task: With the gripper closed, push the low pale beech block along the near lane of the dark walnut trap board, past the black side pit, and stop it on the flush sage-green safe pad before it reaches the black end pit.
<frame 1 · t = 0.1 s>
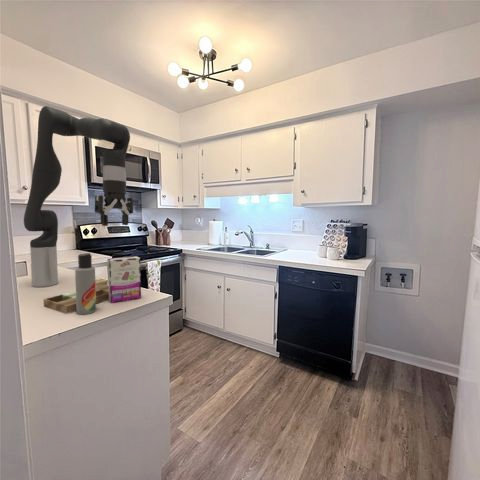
hand: (115, 225, 93), 29 cm above the counter, tool pointing down, fingers open, 8 cm apart
beech block: (98, 287, 105), point 2 cm above the counter, touching trap board
candy bar box: (124, 299, 100), on the counter
trap board: (85, 300, 97), on the counter
lotion bottle: (86, 312, 87), on the counter
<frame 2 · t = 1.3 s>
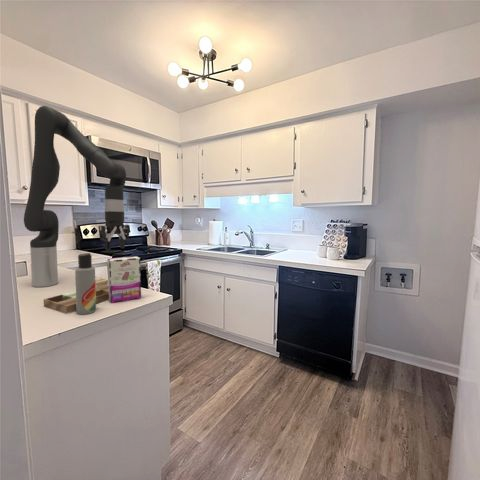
hand: (115, 248, 111), 18 cm above the counter, tool pointing down, fingers open, 6 cm apart
nothing on the counter moved.
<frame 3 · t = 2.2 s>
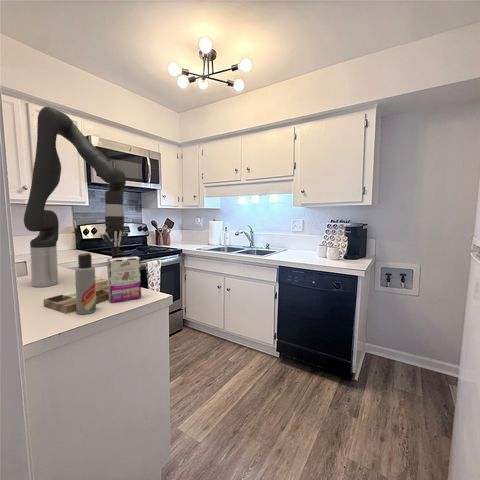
hand: (115, 254, 111), 15 cm above the counter, tool pointing down, fingers closed
nothing on the counter moved.
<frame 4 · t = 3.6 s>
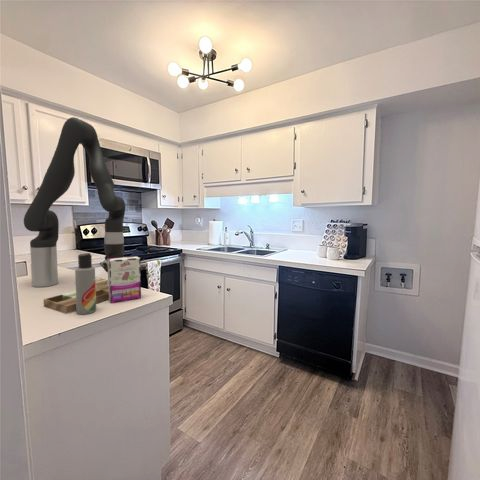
hand: (114, 281, 112), 3 cm above the counter, tool pointing down, fingers closed
nothing on the counter moved.
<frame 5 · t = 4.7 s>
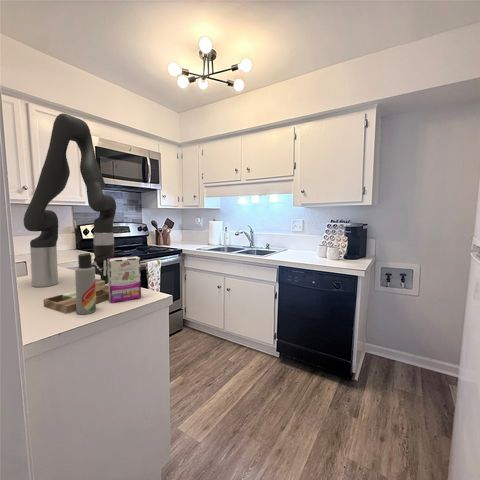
hand: (104, 283, 108), 3 cm above the counter, tool pointing down, fingers closed
beech block: (95, 288, 104), point 3 cm above the counter, touching trap board
everything else where it was.
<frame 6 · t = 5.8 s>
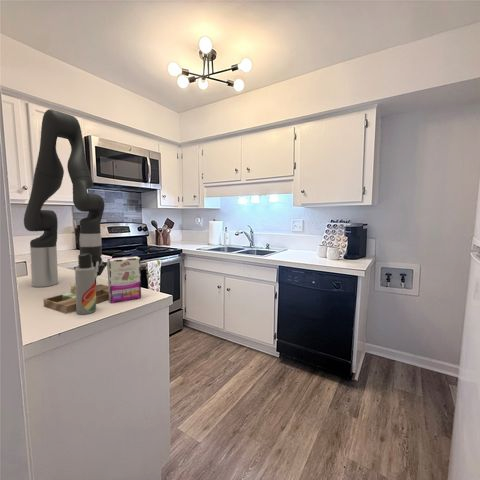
hand: (91, 287, 102), 3 cm above the counter, tool pointing down, fingers closed
beech block: (81, 292, 98), point 3 cm above the counter, touching gripper, trap board
everything else where it was.
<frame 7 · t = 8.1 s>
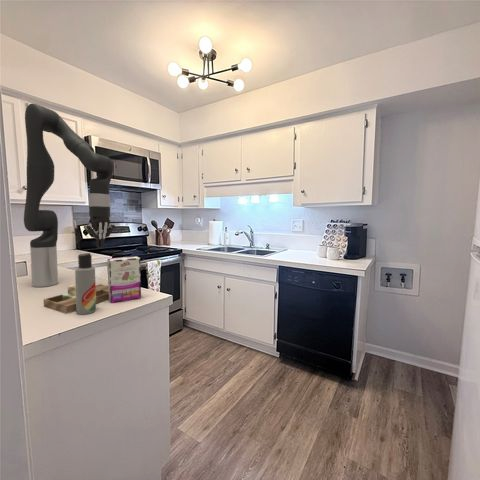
hand: (100, 247, 105), 19 cm above the counter, tool pointing down, fingers closed
beech block: (78, 293, 97), point 2 cm above the counter, touching trap board
everything else where it was.
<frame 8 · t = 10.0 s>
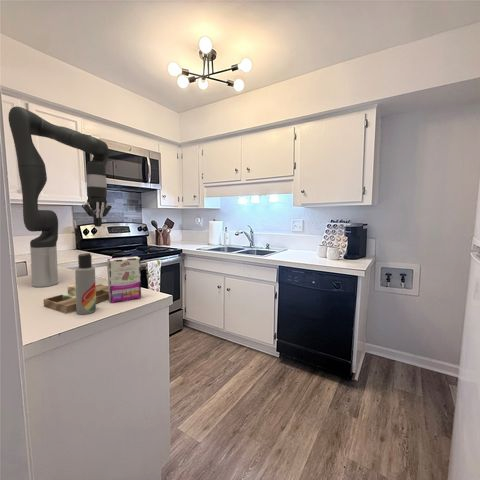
hand: (97, 226, 112), 27 cm above the counter, tool pointing down, fingers closed
nothing on the counter moved.
at the end: beech block 0.2 cm from the target spot on the trap board, point 2.5 cm above the trap board's base; beech block tilted 0°; beech block moved 8.4 cm from its start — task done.
